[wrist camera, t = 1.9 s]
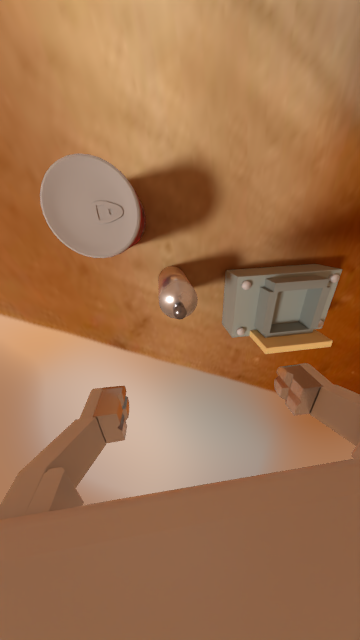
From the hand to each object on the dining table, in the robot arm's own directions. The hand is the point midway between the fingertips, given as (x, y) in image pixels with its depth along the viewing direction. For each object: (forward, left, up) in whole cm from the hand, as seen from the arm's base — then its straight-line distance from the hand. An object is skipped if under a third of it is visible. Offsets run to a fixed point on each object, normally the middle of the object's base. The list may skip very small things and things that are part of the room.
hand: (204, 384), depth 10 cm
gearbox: (+4, +17, -23) cm, 28 cm away
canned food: (-9, -7, -23) cm, 25 cm away
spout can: (0, 0, -23) cm, 23 cm away
